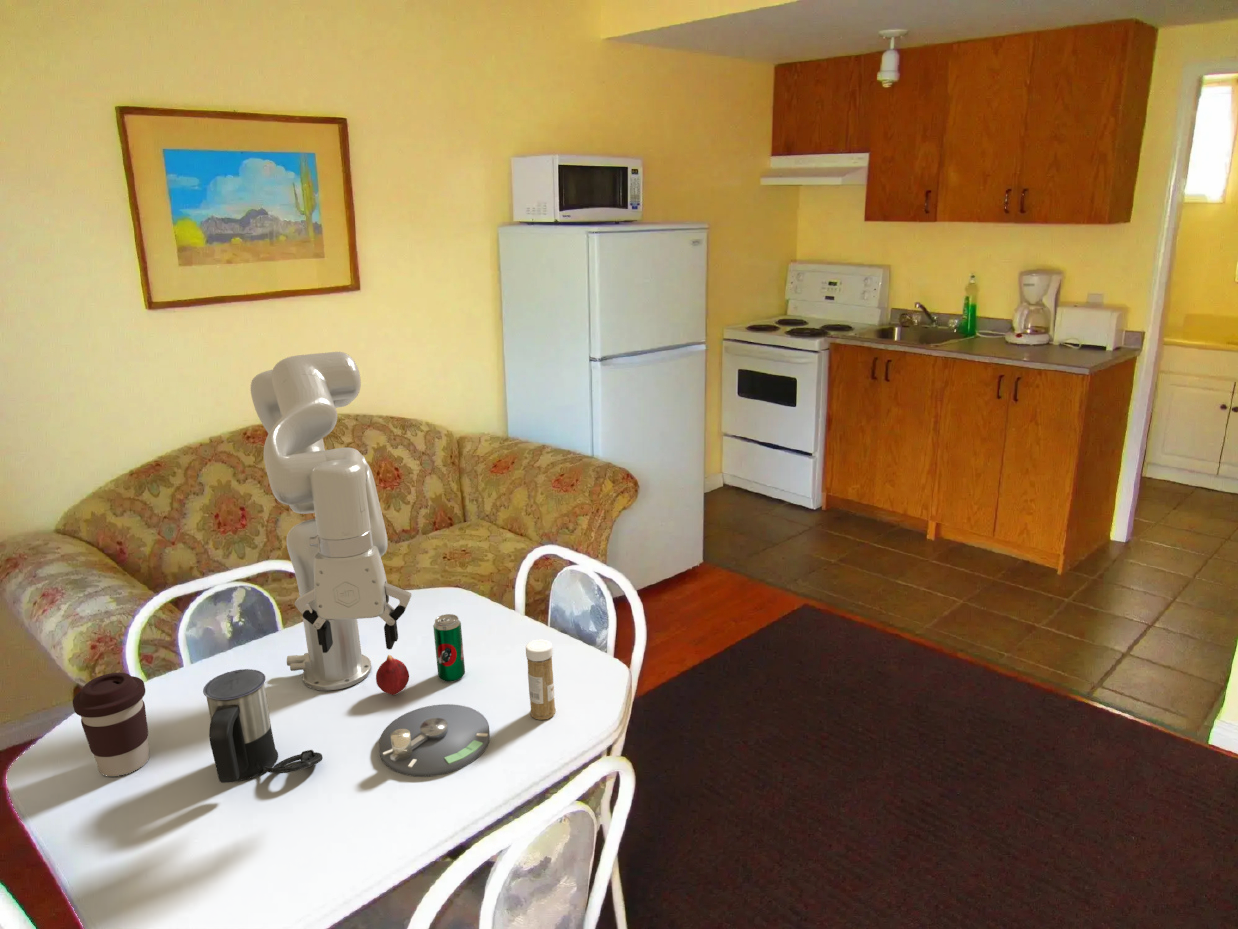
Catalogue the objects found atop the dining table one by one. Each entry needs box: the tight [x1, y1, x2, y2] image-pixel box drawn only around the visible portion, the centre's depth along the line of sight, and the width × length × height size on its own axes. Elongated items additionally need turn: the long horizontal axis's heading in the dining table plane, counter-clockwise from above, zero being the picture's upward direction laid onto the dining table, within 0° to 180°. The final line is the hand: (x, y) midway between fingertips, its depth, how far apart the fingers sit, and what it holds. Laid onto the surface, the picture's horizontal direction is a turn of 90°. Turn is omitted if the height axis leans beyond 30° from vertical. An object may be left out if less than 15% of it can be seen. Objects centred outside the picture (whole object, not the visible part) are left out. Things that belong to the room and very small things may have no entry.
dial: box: [378, 703, 491, 778], centre depth 144 cm, size 18×18×2 cm
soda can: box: [432, 613, 466, 683], centre depth 162 cm, size 5×5×12 cm
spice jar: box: [525, 639, 557, 721], centre depth 150 cm, size 5×5×14 cm
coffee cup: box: [72, 672, 150, 777], centre depth 138 cm, size 10×10×15 cm
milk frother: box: [202, 668, 323, 784], centre depth 137 cm, size 14×16×15 cm
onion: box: [375, 654, 410, 696], centre depth 157 cm, size 6×6×8 cm
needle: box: [390, 718, 448, 761], centre depth 140 cm, size 11×4×4 cm, turn 146°
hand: (359, 647), depth 133 cm, fingers open, 9 cm apart
